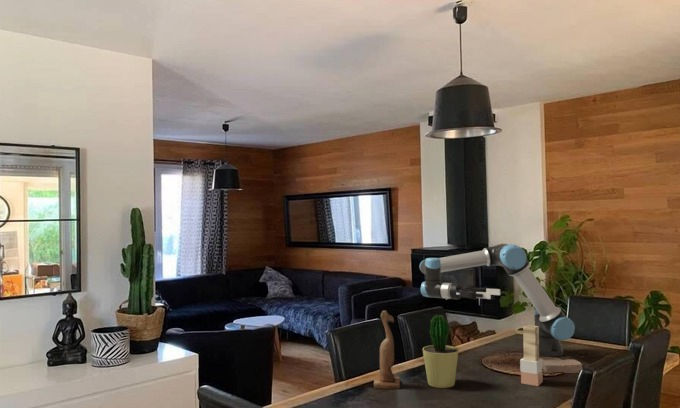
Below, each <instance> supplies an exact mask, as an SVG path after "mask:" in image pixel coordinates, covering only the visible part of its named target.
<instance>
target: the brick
mask: <svg viewBox="0 0 680 408" xmlns="http://www.w3.org/2000/svg"><path fill="white" fill-rule="evenodd" d="M542 369H543V370H544V371H545V372H564V373H563V374H580V373H579V371H580V370H581V369H582V370H583V363H581V361H578V360H576V359H568V358H566V359H542ZM543 370H542V371H543ZM544 371H543V372H544ZM545 372H544V373H545Z"/></svg>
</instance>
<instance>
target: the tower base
mask: <svg viewBox="0 0 680 408" xmlns="http://www.w3.org/2000/svg"><path fill="white" fill-rule="evenodd" d="M543 380H544V378H543V370H542V371H541V372H539V373H538V374H532V373H527V372H521V371H520V383H521V384H523V385H524V384H525V385H529V386H534V387H535V386H536V387H539V386H540V385H541V384H542V383H543V382H544V381H543Z"/></svg>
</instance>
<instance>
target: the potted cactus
mask: <svg viewBox="0 0 680 408" xmlns="http://www.w3.org/2000/svg"><path fill="white" fill-rule="evenodd" d="M431 318H432V319H430V320H429V322H430V325H429V326H430V329H429V335H430V337H431V345H427V346H424V347H423V348H422V355H423V360H424V367H425V372H426V379H427V384H428V385H429V386H431V387H434V388H439V389H448V388H452V387H454V386H455V383H456V374H457V367H458V358H459V351H460V350H459V348H457V347H455V346H451V345H447V343H448V339H449V337H448V336H450V335H449V334H451V332H450V326H449V324H450V323H449V322H448V320H447V319H446V317H445V316H444V315H443V314H439V315H438V314H435V315H434V316H432V317H431Z"/></svg>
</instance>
